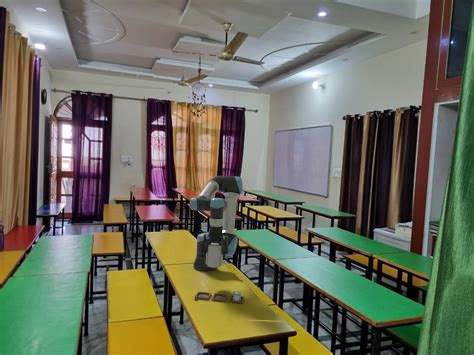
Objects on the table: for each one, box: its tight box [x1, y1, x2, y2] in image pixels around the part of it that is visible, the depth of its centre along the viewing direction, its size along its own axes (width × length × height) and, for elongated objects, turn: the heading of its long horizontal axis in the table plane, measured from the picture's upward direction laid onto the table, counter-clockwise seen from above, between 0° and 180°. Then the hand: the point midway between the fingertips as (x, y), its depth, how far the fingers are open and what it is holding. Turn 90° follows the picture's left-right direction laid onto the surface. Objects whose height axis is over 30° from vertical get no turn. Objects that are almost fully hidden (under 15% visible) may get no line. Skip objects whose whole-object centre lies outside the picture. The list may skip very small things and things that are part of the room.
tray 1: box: [193, 290, 212, 301], centre depth 179 cm, size 7×7×2 cm
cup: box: [207, 243, 222, 269], centre depth 194 cm, size 8×8×12 cm
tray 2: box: [210, 292, 229, 303], centre depth 178 cm, size 7×7×2 cm
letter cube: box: [232, 291, 242, 301], centre depth 176 cm, size 4×4×4 cm
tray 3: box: [228, 294, 245, 305], centre depth 177 cm, size 7×7×2 cm
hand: (214, 264), depth 194 cm, fingers closed on cup, 8 cm apart
